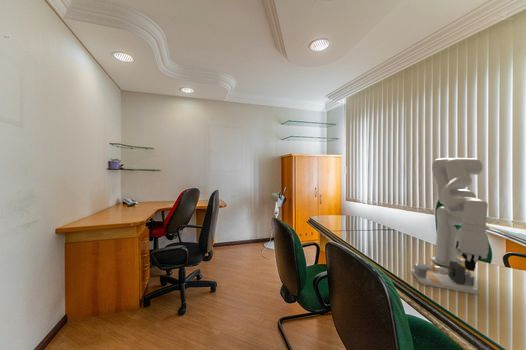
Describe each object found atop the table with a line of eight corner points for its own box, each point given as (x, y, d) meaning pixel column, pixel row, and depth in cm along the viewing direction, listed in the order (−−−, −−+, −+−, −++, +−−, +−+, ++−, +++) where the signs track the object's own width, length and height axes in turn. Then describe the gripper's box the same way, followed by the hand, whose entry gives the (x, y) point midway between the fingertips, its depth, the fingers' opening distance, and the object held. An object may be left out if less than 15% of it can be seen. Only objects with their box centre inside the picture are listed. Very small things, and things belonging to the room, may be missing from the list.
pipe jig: (461, 280, 101) (462, 265, 100) (478, 294, 89) (479, 277, 89) (411, 271, 106) (412, 258, 106) (421, 283, 95) (422, 268, 95)
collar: (454, 277, 99) (456, 261, 99) (463, 284, 93) (465, 268, 92) (448, 275, 100) (449, 260, 100) (456, 283, 93) (458, 267, 93)
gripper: (488, 228, 96) (485, 269, 96) (447, 223, 100) (444, 263, 100) (501, 232, 88) (497, 277, 89) (457, 227, 93) (453, 270, 93)
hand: (469, 269), depth 95 cm, fingers closed
